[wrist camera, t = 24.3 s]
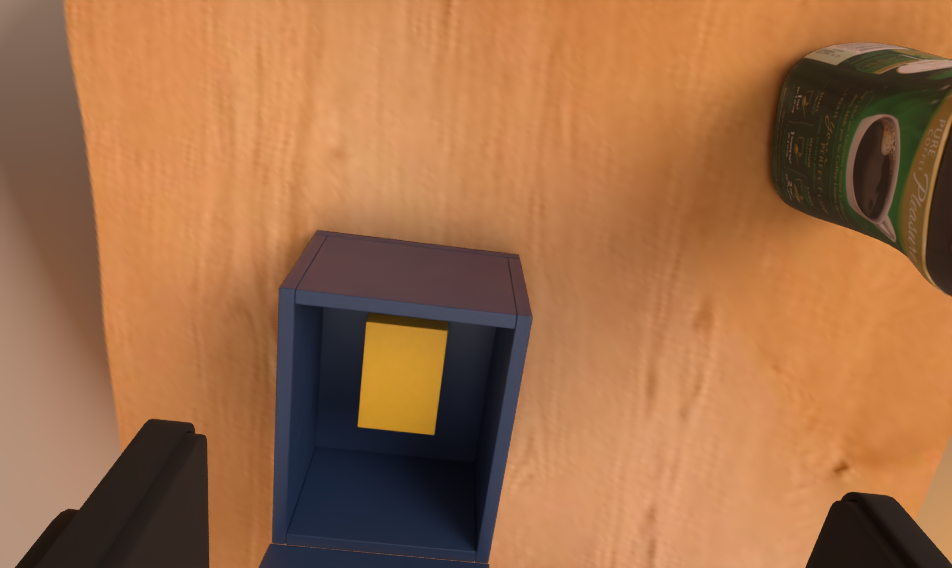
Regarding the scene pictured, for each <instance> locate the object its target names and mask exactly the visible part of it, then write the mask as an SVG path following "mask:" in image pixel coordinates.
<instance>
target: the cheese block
mask: <svg viewBox="0 0 952 568" xmlns="http://www.w3.org/2000/svg"><path fill="white" fill-rule="evenodd" d="M448 323H449V321H440V320H432V319H423V318H414V317H406V316H397V315H388V314H380V313H371V312H369V314H368V317H367V321H366V328H365V340H364V352H363V365H362V377H361V389H360V402H359V414H358V427H362V428H371V429H381V430H391V431H400V432H410V433H419V434H429V435H434V434H435V426H436V419H437V411H438V404H439V396H440V389H441V381H442V373H443V366H444V358H445V351H446V343H447V336H448Z"/></svg>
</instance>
